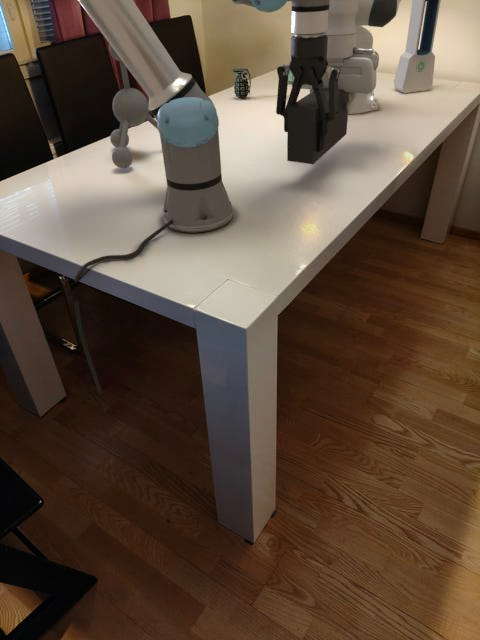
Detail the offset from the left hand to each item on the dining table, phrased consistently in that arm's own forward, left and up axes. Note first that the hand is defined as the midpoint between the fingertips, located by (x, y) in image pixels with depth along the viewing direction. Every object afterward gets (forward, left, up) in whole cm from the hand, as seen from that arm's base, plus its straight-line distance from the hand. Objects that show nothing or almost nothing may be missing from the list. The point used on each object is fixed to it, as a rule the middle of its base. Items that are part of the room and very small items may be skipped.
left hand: (305, 148), depth 113 cm
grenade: (+69, +54, -9) cm, 88 cm away
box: (+9, 0, -2) cm, 9 cm away
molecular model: (+4, +51, -9) cm, 52 cm away
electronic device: (+99, -3, -9) cm, 99 cm away
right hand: (+17, 0, +4) cm, 18 cm away
